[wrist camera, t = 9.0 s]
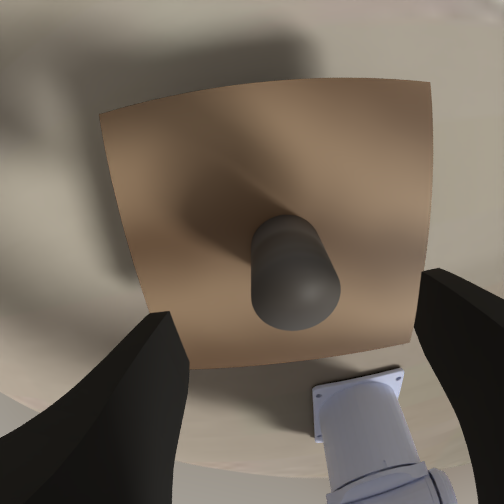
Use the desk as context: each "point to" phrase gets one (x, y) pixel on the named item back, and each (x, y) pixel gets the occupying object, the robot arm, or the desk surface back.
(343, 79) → the walnut lid
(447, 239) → the desk surface
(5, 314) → the desk surface
